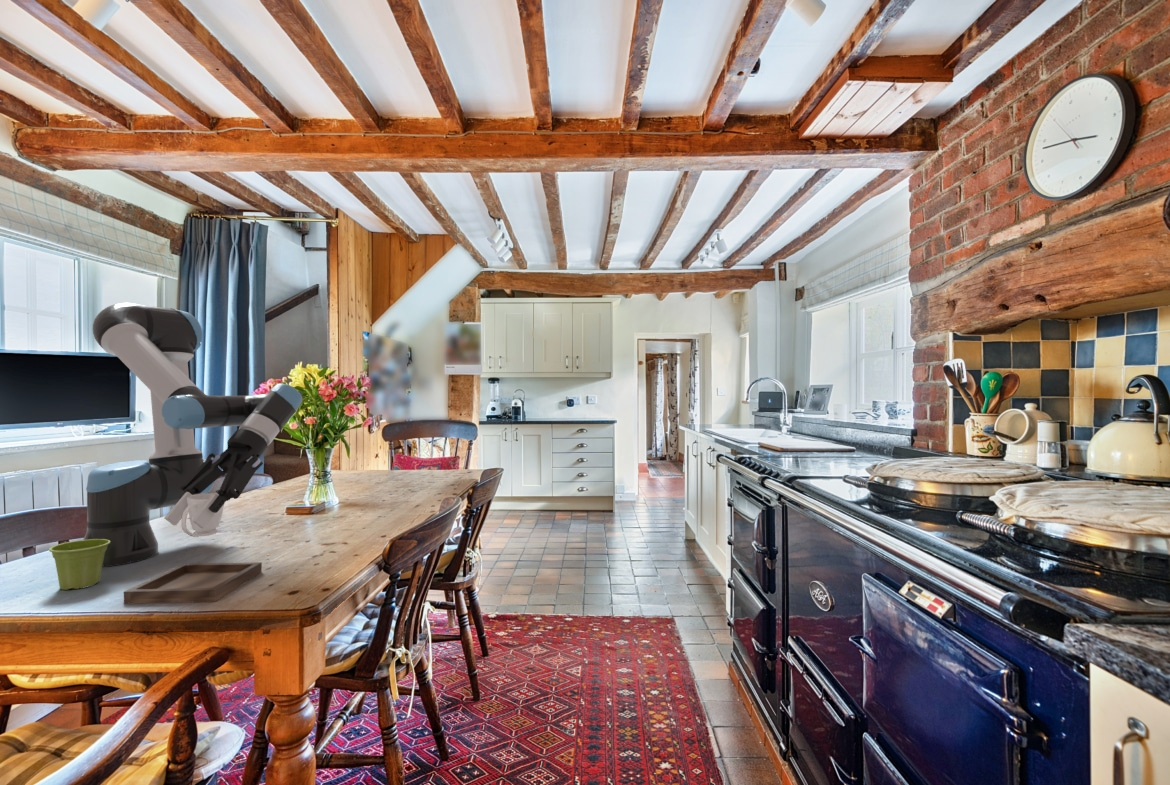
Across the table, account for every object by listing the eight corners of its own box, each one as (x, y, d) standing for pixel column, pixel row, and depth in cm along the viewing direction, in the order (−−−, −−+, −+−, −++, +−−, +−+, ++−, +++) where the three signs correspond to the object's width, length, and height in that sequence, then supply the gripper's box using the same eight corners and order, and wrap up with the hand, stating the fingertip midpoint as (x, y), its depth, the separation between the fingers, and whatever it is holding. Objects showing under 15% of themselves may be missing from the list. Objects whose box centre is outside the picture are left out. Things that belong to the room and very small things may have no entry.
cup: (232, 529, 117) (234, 493, 117) (199, 543, 107) (200, 503, 107) (201, 527, 117) (202, 491, 117) (165, 541, 107) (166, 501, 107)
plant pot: (95, 575, 119) (95, 536, 119) (119, 581, 115) (119, 541, 115) (39, 589, 110) (39, 547, 110) (64, 596, 107) (64, 553, 107)
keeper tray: (123, 603, 103) (123, 591, 103) (183, 573, 120) (183, 563, 120) (215, 601, 104) (215, 589, 104) (261, 572, 121) (261, 562, 121)
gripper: (296, 449, 125) (233, 536, 109) (230, 446, 130) (161, 529, 114) (277, 428, 119) (208, 516, 104) (210, 426, 125) (134, 509, 109)
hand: (183, 523), depth 109 cm, fingers closed on cup, 7 cm apart
